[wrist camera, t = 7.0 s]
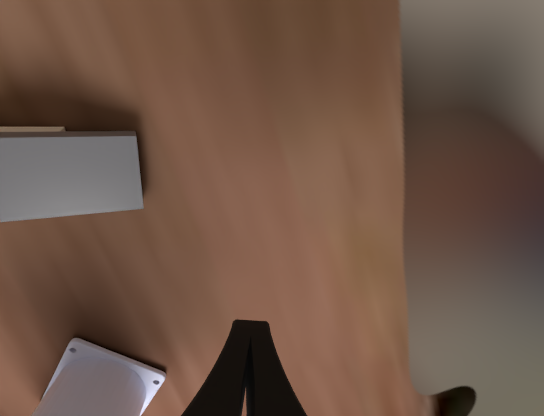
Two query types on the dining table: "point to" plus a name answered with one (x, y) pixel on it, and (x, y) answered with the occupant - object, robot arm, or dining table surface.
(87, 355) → the robot arm
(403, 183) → the dining table surface
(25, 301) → the dining table surface
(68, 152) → the domino
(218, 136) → the dining table surface
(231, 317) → the dining table surface
